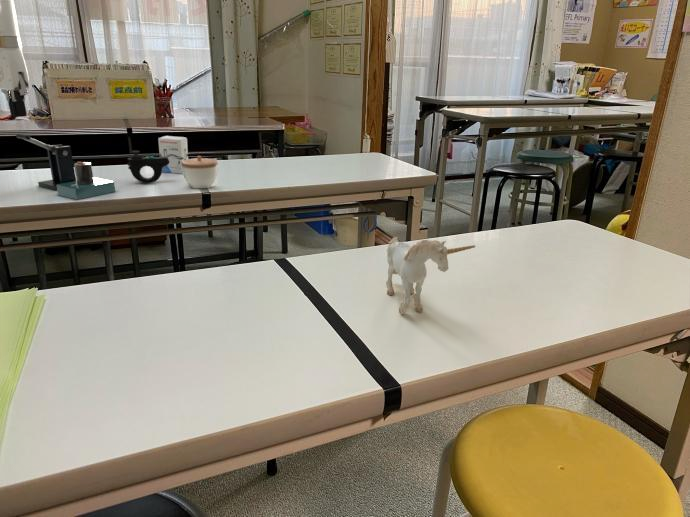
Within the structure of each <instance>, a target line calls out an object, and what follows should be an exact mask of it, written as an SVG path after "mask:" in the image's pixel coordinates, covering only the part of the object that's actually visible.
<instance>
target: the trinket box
mask: <svg viewBox="0 0 690 517" xmlns="http://www.w3.org/2000/svg"><path fill="white" fill-rule="evenodd" d="M181 164H182V170H183V174H182V175H183V178H184V180H185V181H186V183H188V185H190V186H191V188H193V189H208V188H211V187H212V185H213V184H214V183H215V182H216V180H217V177H218V171H219V168H218V164H219V163H218V160H216V159H214V158H207V157H204V158H203V157H202V156H201V155H197V157H196V158H195V157H194V158H188V159H187V160H183V161H182V162H181Z"/></svg>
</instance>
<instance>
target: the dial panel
mask: <svg viewBox="0 0 690 517" xmlns="http://www.w3.org/2000/svg"><path fill="white" fill-rule="evenodd" d="M93 178H94V183H92V184H85V185H81V184H77V180H76V181H73V182H68V183H63V184H57V191H56V192H57V195H58V196H61V197H64V198H67V199H68V198H69V199H73V200H77V201H78V200H84V199H88V198H92V197H97V196H102V195H107V194H110V193H115V192H116V186H115V181H113V180H109V179H104V178H99V177H93Z"/></svg>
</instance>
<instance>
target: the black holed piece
mask: <svg viewBox="0 0 690 517" xmlns="http://www.w3.org/2000/svg"><path fill="white" fill-rule="evenodd" d="M132 153H133V155H131V156H130V157H128V158H127V161H128V163H127V166H128V167H127V168H128V170H130V173H131V175H132V177H133V178H134V179H135V180H137V181H138V182H140V183H144V184H152V183H155V182H156V181H158V180H159V179H160V178H161V176H162V173H163V172H162V168H163V167H164V166H166V165H168V164H169V162H170V161H169V159H168V157H160V156H152V155H151V156H149V155H145V156H142V155H140V150H132ZM144 167H149V168H151V169H152V171H153V174H152V175H151V176H150V177H145V176H143V175H142V174H141V171H142V169H144Z"/></svg>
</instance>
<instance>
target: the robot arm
mask: <svg viewBox="0 0 690 517" xmlns="http://www.w3.org/2000/svg"><path fill="white" fill-rule="evenodd" d="M15 6H16V5H15V2H14V0H0V91H1V93H3V94H4V95H5V98H6V101H7V103H8V107H9V113H10V116H11V117H15V118H23V117H24V118H25V117H27V116H28V114H27V109H26V104H25V101H26V97H25V96H26V95H28V94H29V92H28V89H30V87H31V84H30V77H29V72H28V68H27V64H26V59H25V57H24V54H23V51H24V49H23V46H22V39H21V34H20V28H19V24H18V17H17V12H16V7H15Z"/></svg>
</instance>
